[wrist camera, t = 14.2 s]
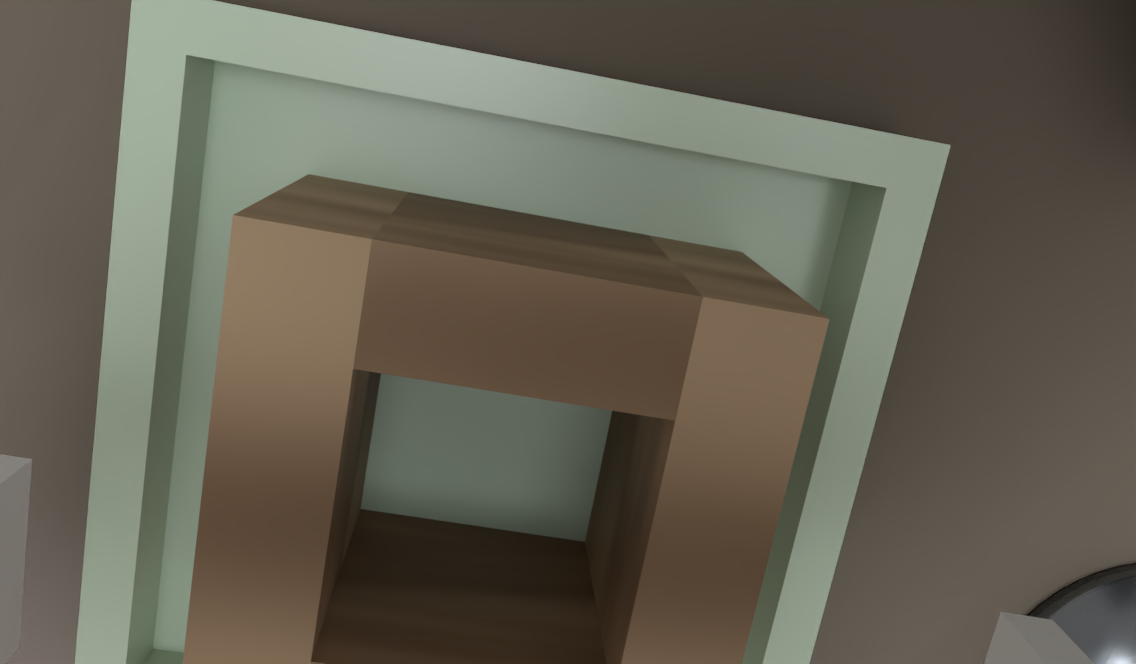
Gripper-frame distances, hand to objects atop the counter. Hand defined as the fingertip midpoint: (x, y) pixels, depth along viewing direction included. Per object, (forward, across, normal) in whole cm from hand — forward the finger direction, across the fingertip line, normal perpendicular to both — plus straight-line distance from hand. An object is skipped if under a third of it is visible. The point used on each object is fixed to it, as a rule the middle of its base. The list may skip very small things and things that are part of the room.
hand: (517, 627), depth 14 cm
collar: (+9, -1, 0) cm, 9 cm away
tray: (+9, -1, 0) cm, 9 cm away
